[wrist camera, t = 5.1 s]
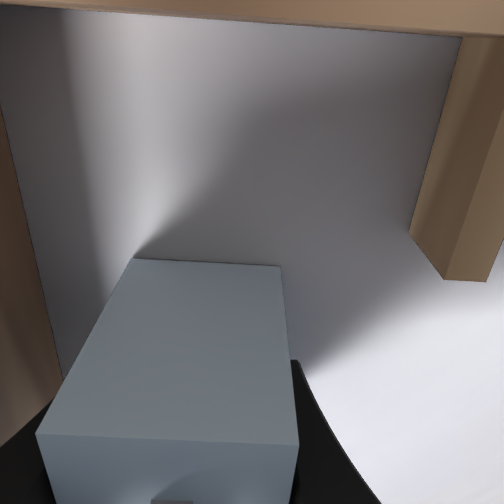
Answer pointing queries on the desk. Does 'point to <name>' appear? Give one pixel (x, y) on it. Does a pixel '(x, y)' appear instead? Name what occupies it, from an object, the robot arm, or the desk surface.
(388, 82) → the desk surface
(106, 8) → the wooden frame
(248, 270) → the cabinet block
